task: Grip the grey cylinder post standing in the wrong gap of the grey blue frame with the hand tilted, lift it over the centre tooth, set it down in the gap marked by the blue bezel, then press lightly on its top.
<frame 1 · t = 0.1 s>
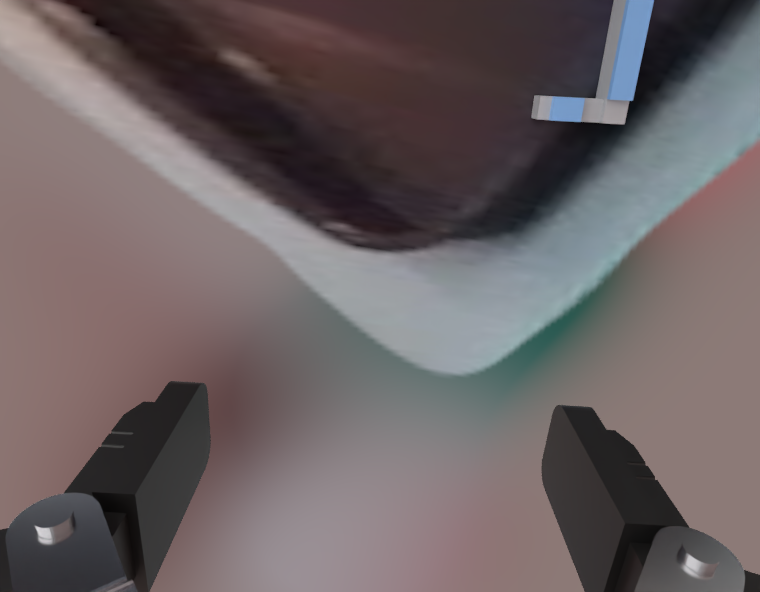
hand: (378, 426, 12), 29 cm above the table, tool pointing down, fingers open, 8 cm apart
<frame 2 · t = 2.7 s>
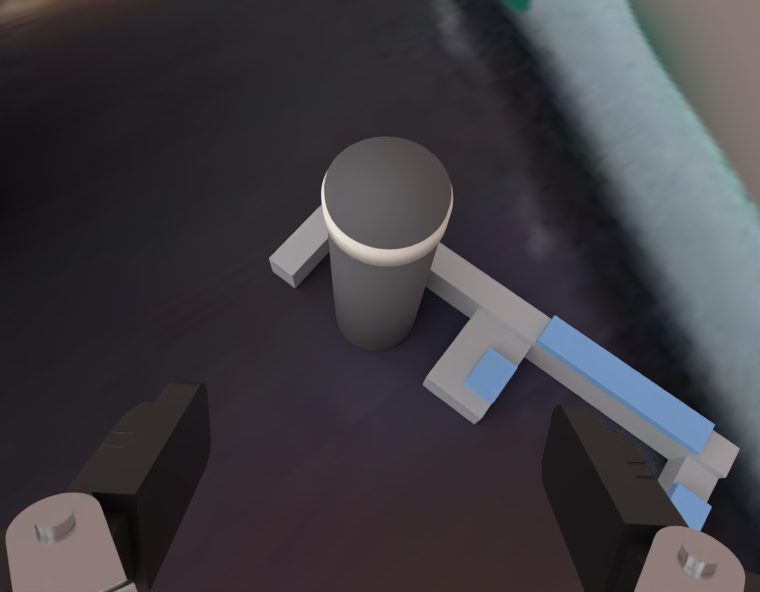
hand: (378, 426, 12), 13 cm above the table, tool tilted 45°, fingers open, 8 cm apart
grey blue frame: (465, 379, 26), on the table
grey cylinder post: (375, 313, 27), on the table
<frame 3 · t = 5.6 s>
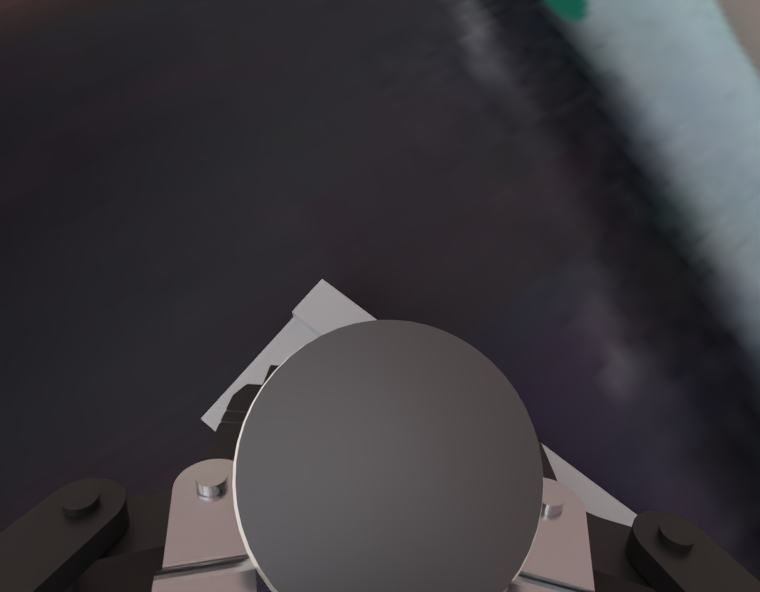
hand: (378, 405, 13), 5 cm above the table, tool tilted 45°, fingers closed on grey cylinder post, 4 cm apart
grey cylinder post: (369, 497, 17), on the table, touching gripper
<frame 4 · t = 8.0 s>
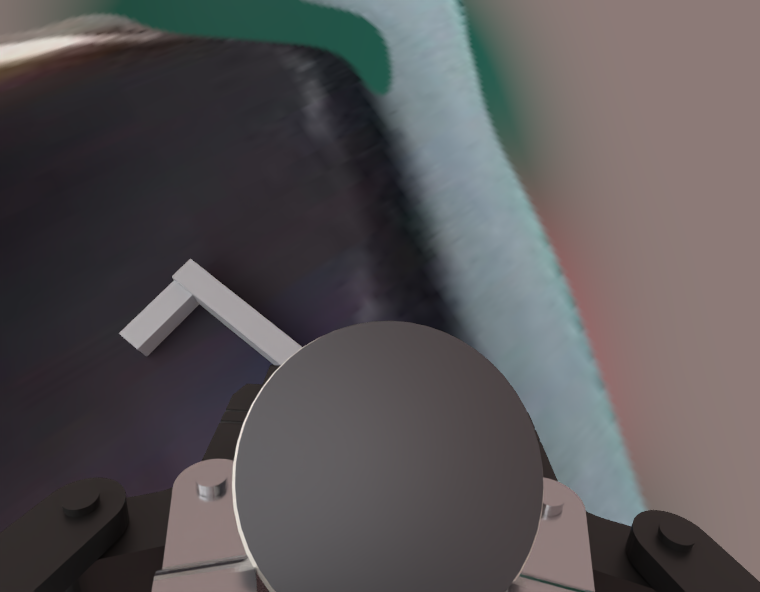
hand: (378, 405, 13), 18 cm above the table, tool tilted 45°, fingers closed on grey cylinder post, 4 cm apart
grey blue frame: (286, 439, 30), on the table
grey cylinder post: (369, 498, 17), point 13 cm above the table, touching gripper
when the fingers open (6 cm above the table, at t = 10.4 s): grey cylinder post drops 1 cm, on the table.
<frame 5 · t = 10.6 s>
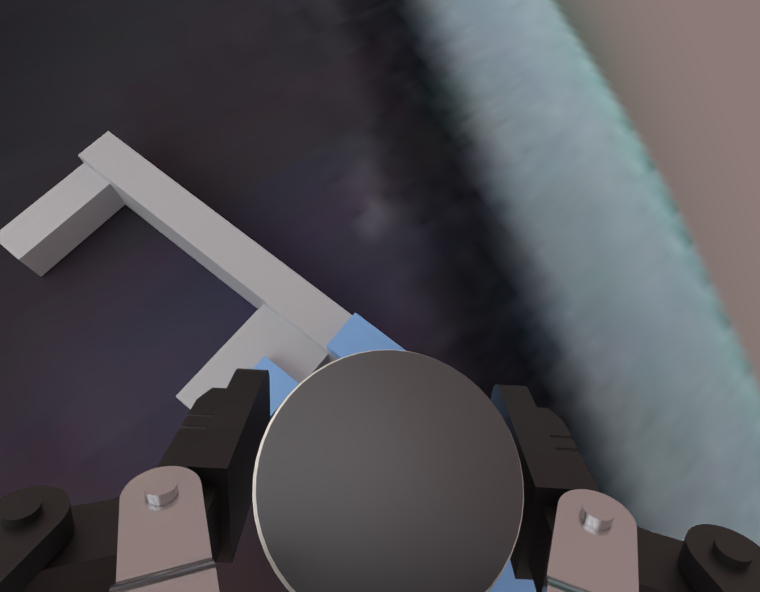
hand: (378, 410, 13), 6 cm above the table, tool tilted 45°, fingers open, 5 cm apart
grey blue frame: (248, 398, 19), on the table
grey cylinder post: (367, 502, 18), on the table
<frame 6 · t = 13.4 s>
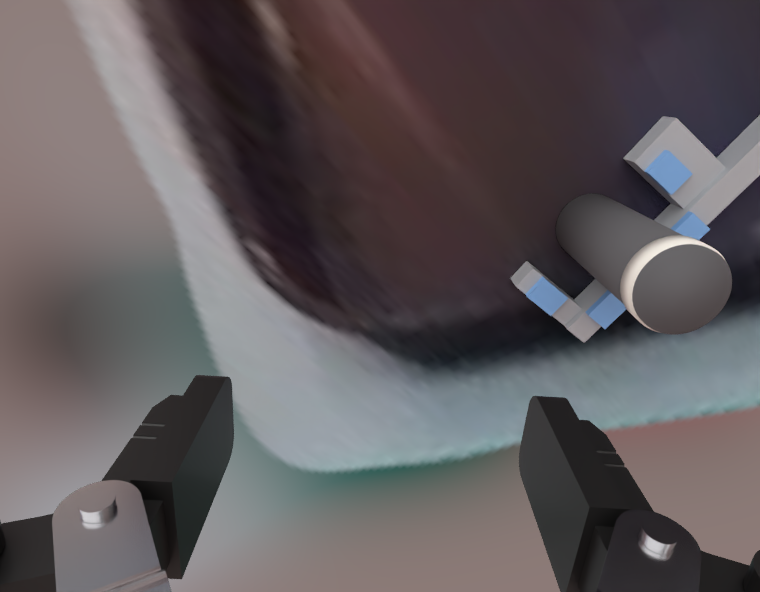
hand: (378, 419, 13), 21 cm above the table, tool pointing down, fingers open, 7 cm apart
grey blue frame: (659, 154, 31), on the table
grey cylinder post: (588, 226, 33), on the table
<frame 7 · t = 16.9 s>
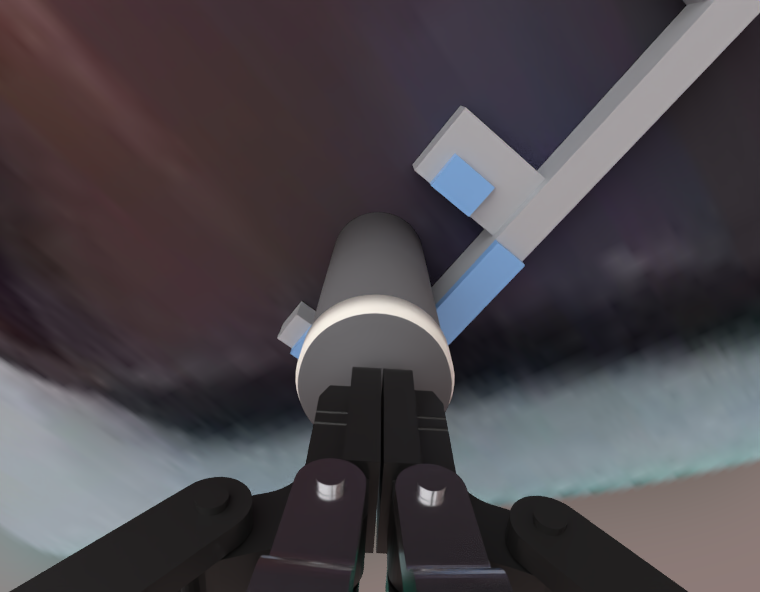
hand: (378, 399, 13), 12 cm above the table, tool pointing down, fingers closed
grey blue frame: (463, 159, 22), on the table
grey cylinder post: (378, 256, 24), on the table
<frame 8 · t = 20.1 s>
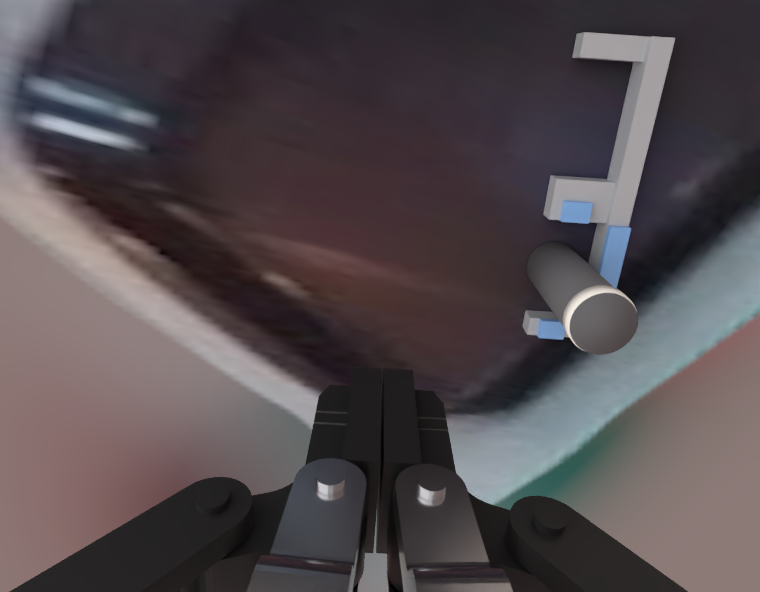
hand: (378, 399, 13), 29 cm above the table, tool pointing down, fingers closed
grey blue frame: (566, 196, 41), on the table
grey cylinder post: (551, 265, 43), on the table
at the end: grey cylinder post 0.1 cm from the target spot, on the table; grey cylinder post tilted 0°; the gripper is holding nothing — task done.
